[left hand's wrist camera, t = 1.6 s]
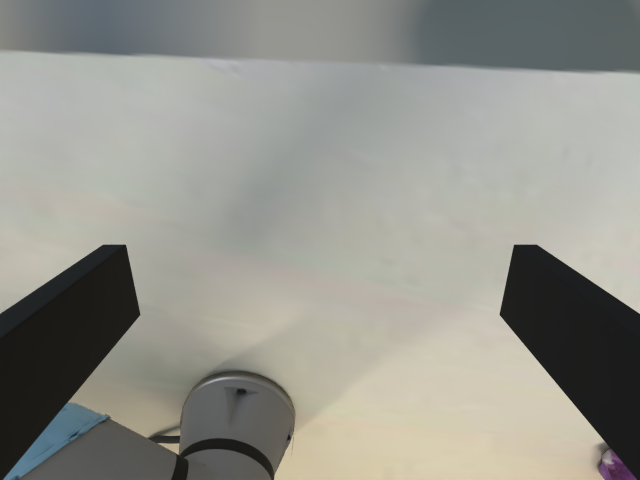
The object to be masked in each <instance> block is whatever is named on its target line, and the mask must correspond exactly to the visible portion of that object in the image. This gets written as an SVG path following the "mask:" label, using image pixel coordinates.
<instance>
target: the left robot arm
mask: <svg viewBox="0 0 640 480" xmlns="http://www.w3.org/2000/svg"><path fill="white" fill-rule="evenodd" d="M139 316H140V310H139V306H138V301H137V296H136V291H135V286H134V282H133V277H132V272H131V267H130V262H129V257H128V253H127V248H126V245H102V246H101V247H99V248H98V249H96V250H95V251H93V252H92V253H90V254H89V255H87V256H86V257H84V258H83V259H81V260H80V261H78V262H77V263H75V264H74V265H72V266H71V267H69V268H68V269H66V270H65V271H63V272H62V273H60V274H59V275H57V276H56V277H55V278H53V279H52V280H50V281H49V282H47V283H46V284H44V285H43V286H41V287H40V288H38V289H37V290H35V291H34V292H32V293H31V294H29V295H28V296H26V297H25V298H23V299H22V300H20V301H19V302H17V303H16V304H14V305H13V306H11V307H10V308H8V309H7V310H5V311H4V312H2V313H1V314H0V480H274V475H275V473H276V471H277V469H278V466H279V464H280V462H281V460H282V458H283V456H284V453H285V450H286V449H287V447H288V445H289V443H290V441H291V438H292V435H293V431H294V423H295V412H294V407H293V405H292V402H291V400H290V399H289V397H288V396H287V394H286V393H285V392H284V391H283V390H282V389H281V388H280V387H279V386H278V385H276V384H275V383H273V382H272V381H270V380H268V379H266V378H264V377H261V376H258V375H255V374H251V373H246V372H224V373H219V374H215V375H212V376H210V377H208V378H206V379H204V380H202V381H201V382H199V383H198V384H197V385H196V386H195V387H194V388H193V389H192V390H191V392H190V393H189V395H188V397H187V399H186V401H185V404H184V406H183V409H182V414H181V419H180V428H181V434H180V436H156V437H153V438H151V439H147V438H145V437H144V436H142V435H140V434H138V433H136V432H134V431H132V430H130V429H128V428H126V427H124V426H122V425H120V424H119V423H117V422H115V421H113V420H111V419H110V418H111V417H110V416H109V415H101V414H99V413H97V412H94V411H92V410H90V409H88V408H85V407H83V406H81V405H78V404H76V403H67V402H68V401H69V400H70V399H71V398H72V396H73V395H74V394H75V393H76V392H77V390H78V389H79V388H80V387H81V386H82V384H83V383H84V382H85V381H86V380H87V378H88V377H89V376H90V375H91V374H92V372H93V371H94V370H95V369H96V368H97V366H98V365H99V364H100V363H101V361H102V360H103V359H104V358H105V357H106V355H107V354H108V353H109V352H110V351H111V349H112V348H113V347H114V346H115V345H116V343H117V342H118V341H119V340H120V339H121V337H122V336H123V335H124V334H125V333H126V331H127V330H128V329H129V328H130V327H131V325H132V324H133V323H134V322H135V321H136V319H137V318H138V317H139ZM500 316H501V317H502V318H503V319H504V321H505V322H506V323H507V324H508V325H509V327H510V328H511V329H512V330H513V331H514V333H515V334H516V335H517V336H518V337H519V339H520V340H521V341H522V342H523V343H524V345H525V346H526V347H527V348H528V349H529V351H530V352H531V353H532V354H533V355H534V357H535V358H536V359H537V360H538V361H539V363H540V364H541V365H542V366H543V368H544V369H545V370H546V371H547V372H548V374H549V375H550V376H551V377H552V378H553V380H554V381H555V382H556V383H557V384H558V386H559V387H560V388H561V389H562V390H563V392H564V393H565V394H566V395H567V396H568V398H569V399H570V400H571V401H572V402H573V404H574V405H575V406H576V407H577V408H578V410H579V411H580V412H581V413H582V414H583V416H584V417H585V418H586V419H587V420H588V422H589V423H590V424H591V425H592V426H593V428H594V429H595V430H596V431H597V432H598V434H599V435H600V436H601V437H602V438H603V440H604V441H605V442H606V443H607V444H608V446H609V447H610V448H611V449H612V450H613V452H614V453H615V454H616V455H617V456H618V458H619V459H620V460H621V461H622V462H623V464H624V465H625V466H626V467H627V468H628V470H629V471H630V472H631V473H632V474H633V476H634V477H635V478H636V479H637V480H640V314H639V313H638V312H636V311H635V310H633V309H632V308H630V307H629V306H627V305H626V304H624V303H623V302H621V301H620V300H618V299H617V298H615V297H614V296H612V295H611V294H609V293H608V292H606V291H605V290H603V289H602V288H600V287H599V286H597V285H596V284H594V283H593V282H591V281H590V280H588V279H587V278H585V277H584V276H582V275H581V274H580V273H578V272H577V271H575V270H574V269H572V268H571V267H569V266H568V265H566V264H565V263H563V262H562V261H560V260H559V259H557V258H556V257H554V256H553V255H551V254H550V253H548V252H547V251H545V250H544V249H542V248H541V247H539V246H538V245H514V248H513V253H512V257H511V262H510V267H509V272H508V277H507V282H506V286H505V291H504V296H503V301H502V306H501V310H500ZM293 439H294V437H293ZM157 443H180V444H179V455H178V454H176V453H174V452H172V451H171V450H169V449H167V448H165V447H163V446H161V445H159V444H157ZM292 448H293V445H292ZM291 456H292V455H291Z"/></svg>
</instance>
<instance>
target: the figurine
mask: <svg viewBox="0 0 640 480" xmlns="http://www.w3.org/2000/svg"><path fill="white" fill-rule="evenodd" d="M599 473H600V474H601V475H602V477H603V478H604V479H605V480H637V479H636V478H635V477H634V476H633V474H632V473H631V472H630V471H629V470H628V468H627V467H626V466H625V465H624V464H623V462H622V461H621V460H620V459H619V458H618V456H617V455H616V454H615V453H614V452H613V450H612V449H609V450H607V451H606V452H605V453H604V454H603V455H602V463H601V465H600V466H599Z"/></svg>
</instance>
